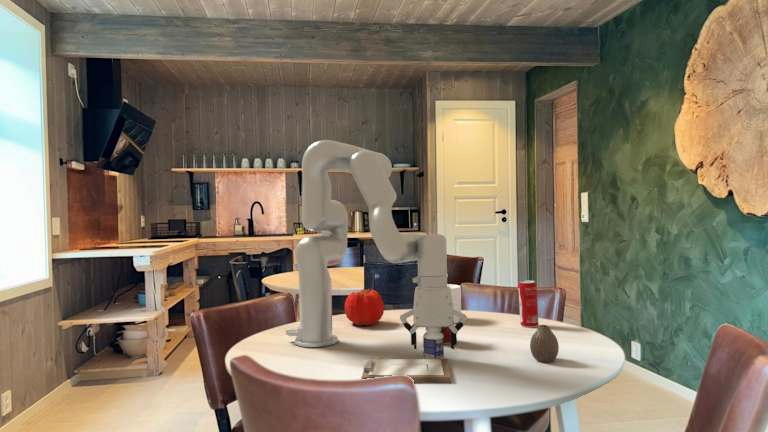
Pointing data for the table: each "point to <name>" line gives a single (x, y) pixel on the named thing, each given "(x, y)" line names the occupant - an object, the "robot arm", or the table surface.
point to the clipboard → (409, 369)
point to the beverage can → (528, 303)
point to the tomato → (364, 307)
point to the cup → (456, 299)
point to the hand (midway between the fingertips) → (433, 347)
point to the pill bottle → (433, 343)
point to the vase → (544, 344)
